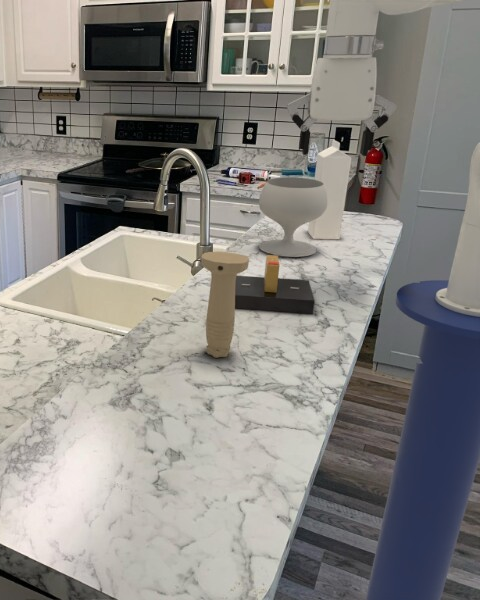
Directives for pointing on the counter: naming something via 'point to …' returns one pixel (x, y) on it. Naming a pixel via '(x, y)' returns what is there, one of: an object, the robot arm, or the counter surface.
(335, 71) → the robot arm
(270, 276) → the tan square block
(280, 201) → the chalice
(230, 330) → the handle
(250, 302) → the plate
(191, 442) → the counter surface
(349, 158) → the milk
